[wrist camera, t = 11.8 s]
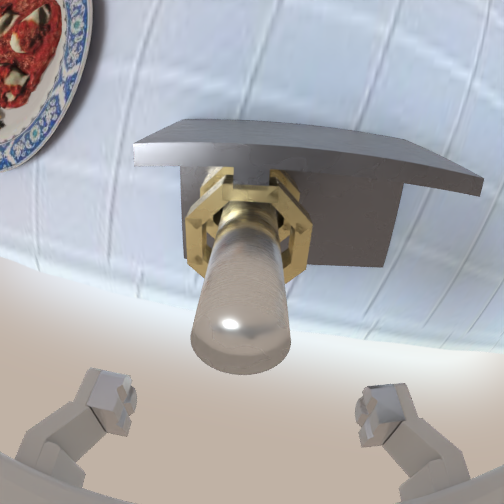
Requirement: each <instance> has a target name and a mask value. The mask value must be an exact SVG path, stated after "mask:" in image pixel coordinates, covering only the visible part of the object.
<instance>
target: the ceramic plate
mask: <svg viewBox="0 0 504 504" xmlns="http://www.w3.org/2000/svg"><path fill="white" fill-rule="evenodd" d="M92 22H93V4H92V0H0V173H1V172H6V171H8V170H11V169H14V168H16V167H18V166H20V165H21V164H23V163H24V162H26V161H27V160H29V159H30V158H31V157H32V156H33V155H34V154H36V153H37V152H38V151H39V150H40V149H41V148H42V147H43V146H44V144H45V143H46V142H47V141H48V139H49V138H50V137H51V136H52V134H53V133H54V132H55V130H56V128H57V127H58V125H59V124H60V122H61V120H62V119H63V117H64V115H65V113H66V111H67V110H68V108H69V106H70V104H71V101H72V99H73V97H74V95H75V93H76V90H77V87H78V85H79V82H80V80H81V76H82V73H83V70H84V67H85V63H86V59H87V55H88V51H89V46H90V41H91V33H92Z"/></svg>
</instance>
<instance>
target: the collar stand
mask: <svg viewBox="0 0 504 504" xmlns="http://www.w3.org/2000/svg"><path fill="white" fill-rule="evenodd" d="M133 150H134V166H180V177H181V209H182V231H183V249H184V258H185V259H187V264H188V265H189V266H191V267H192V268H193V269H194V270H195V271H196V272H197V273H199V274H200V275H201V276H202V277H203V278H204V279H205V275H206V271H207V267H208V264H209V260H210V256H211V252H212V248H213V245H214V241H215V237H216V234H217V230H218V226H219V223H220V219H221V215H222V207H223V206H224V205H225V204H227V203H228V202H229V201H247V202H266V203H271V204H272V205H273V206H274V207H275V208H276V209H277V223H278V231H279V239H280V248H281V256H282V265H283V273H284V282H285V284H286V283H287V282H289V281H290V280H292V279H293V278H294V277H296V276H297V275H299V274H300V273H301V272H303V271H304V270H306V265H307V264H311V265H335V266H360V267H383V265H384V262H385V258H386V254H387V251H388V247H389V243H390V240H391V236H392V232H393V228H394V224H395V220H396V216H397V211H398V207H399V203H400V198H401V193H402V189H403V184H404V183H407V184H413V185H419V186H426V187H431V188H437V189H443V190H448V191H454V192H459V193H464V194H469V195H474V196H479V197H480V194H481V190H482V186H483V182H484V178H482V177H481V176H479V175H477V174H475V173H473V172H471V171H470V170H468V169H466V168H464V167H462V166H460V165H458V164H456V163H454V162H452V161H450V160H448V159H446V158H444V157H442V156H440V155H438V154H436V153H434V152H432V151H429V150H427V149H425V148H423V147H421V146H418V145H416V144H414V143H412V142H409V141H407V140H404V139H399V138H394V137H388V136H383V135H377V134H371V133H365V132H359V131H352V130H346V129H338V128H331V127H322V126H314V125H304V124H293V123H282V122H268V121H250V120H221V119H183V120H181V121H179V122H176V123H174V124H172V125H170V126H168V127H166V128H164V129H161V130H159V131H157V132H155V133H153V134H151V135H149V136H147V137H145V138H143V139H141V140H139V141H137V142H135V143H134V144H133Z"/></svg>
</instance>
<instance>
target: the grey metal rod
mask: <svg viewBox="0 0 504 504" xmlns="http://www.w3.org/2000/svg"><path fill="white" fill-rule="evenodd" d="M191 345H192V347H193V350H194V351H195V353H196V355H197V356H198V357H199V358H200V359H201V360H202V361H203V362H204V363H206V364H207V365H209V366H210V367H212V368H214V369H216V370H219V371H222V372H226V373H230V374H237V375H251V374H257V373H261V372H264V371H267V370H269V369H271V368H273V367H275V366H277V365H278V364H279V363H281V362H282V360H284V358H285V357H286V356H287V354H288V352H289V349H290V345H291V338H290V328H289V319H288V309H287V300H286V291H285V282H284V273H283V265H282V256H281V248H280V239H279V231H278V223H277V209H276V208H275V207H274V206H273V205H272V204H271V203H266V202H247V201H229V202H228V203H227V204H225V205H224V206H223V207H222V215H221V219H220V223H219V226H218V230H217V234H216V237H215V241H214V245H213V248H212V252H211V256H210V260H209V264H208V267H207V271H206V275H205V279H204V283H203V287H202V291H201V295H200V299H199V303H198V307H197V311H196V315H195V319H194V323H193V328H192V332H191Z"/></svg>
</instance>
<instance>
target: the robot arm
mask: <svg viewBox="0 0 504 504" xmlns="http://www.w3.org/2000/svg"><path fill="white" fill-rule="evenodd" d="M131 382H132V380H131V377H130V376H129V375H125V374H120V373H115V372H110V371H105V370H101V369H96V368H90V369H89V370H88V371H87V372H86V374H85V377H84V379H83V381H82V383H81V385H80V388H79V390H78V392H77V394H76V397H75V399H74V401H73V402H69V403H67V404H65V405H64V406H63V407H61V408H60V409H58V410H57V411H55V412H54V413H52V414H51V415H49V416H48V417H47V418H45V419H44V420H42V421H41V422H40V423H38V424H36V425H35V426H34V427H32V428H31V429H29V430H28V431H26V434H25V436H24V438H23V440H22V443H21V445H20V448H19V450H18V452H17V455H16V457H15V459H13V458H11V457H9V456H7V455H5V454H3V453H1V452H0V504H135V503H131V502H127V501H123V500H119V499H115V498H112V497H108V496H105V495H102V494H99V493H95V492H92V491H89V490H86V489H83V488H82V486H83V482H84V478H85V475H86V474H85V472H84V471H83V470H82V469H81V468H80V467H79V466H78V465H77V464H76V462H77V461H78V460H79V459H80V458H81V457H82V456H83V455H84V454H85V453H86V452H87V451H88V450H89V449H91V448H92V447H93V446H94V445H95V444H96V443H97V442H98V441H99V440H100V439H101V438H102V437H103V436H104V435H105V434H106V433H111V434H116V435H121V436H126V437H127V436H128V432H129V429H130V426H131V420H130V418H129V416H130V415H131V414H132V413H134V411H135V408H136V403H137V394H136V390H135V388H134V387H132V386H131ZM362 393H363V397H361V398H360V399H359V400H358V401H357V404H356V408H355V417H356V422H357V423H358V424H359V425H360V426H361V429H360V431H359V437H360V442H361V446H362V447H371V446H380V445H383V448H384V449H385V450H386V451H387V452H388V453H389V455H390V456H391V457H392V458H393V459H394V460H395V461H396V463H397V464H398V465H399V466H400V467H401V468H402V469H403V470H404V472H405V473H406V474H407V475H408V476H409V477H410V479H408V480H407V481H406V482H404V483H403V484H402V485H401V486H400V487H399V491H400V496H401V502H399V503H395V504H504V465H502V466H500V467H498V468H495V469H493V470H491V471H489V472H487V473H484V474H482V475H480V476H477V477H476V478H473V479H470V476H469V472H468V469H467V466H466V463H465V460H464V457H463V454H462V451H461V450H459V449H458V448H457V447H456V446H454V445H453V444H452V443H451V442H450V441H449V440H447V439H446V438H445V437H444V436H443V435H442V434H440V433H439V432H438V431H437V430H436V429H434V428H433V427H432V426H431V425H430V424H428V423H427V422H426V421H425V420H424V419H423V418H418V415H417V413H416V409H415V407H414V404H413V401H412V398H411V395H410V393H409V390H408V387H407V385H406V384H405V383H399V384H386V385H377V386H367V387H365V388H364V390H363V392H362Z"/></svg>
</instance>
